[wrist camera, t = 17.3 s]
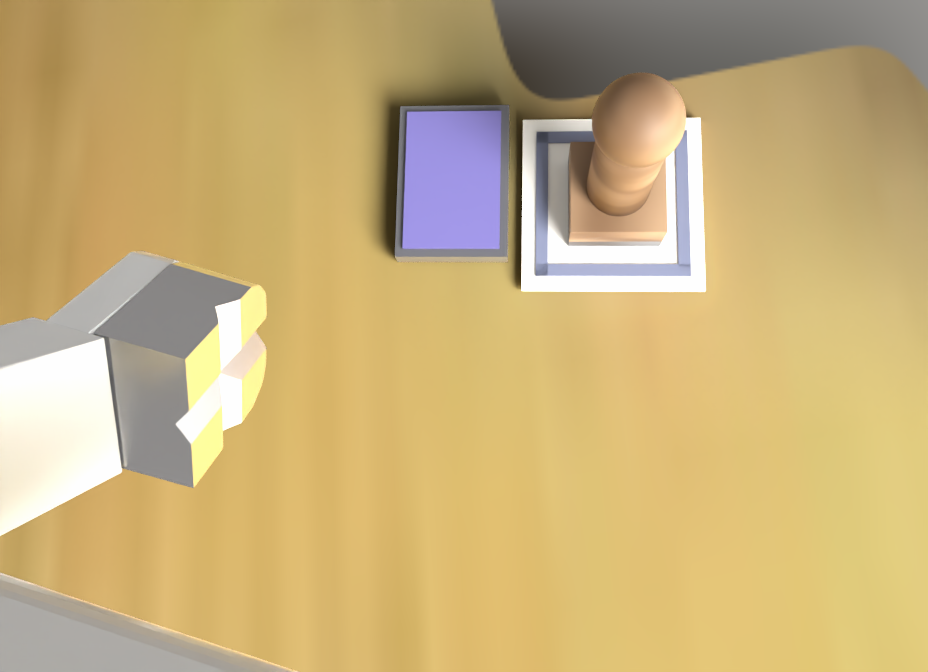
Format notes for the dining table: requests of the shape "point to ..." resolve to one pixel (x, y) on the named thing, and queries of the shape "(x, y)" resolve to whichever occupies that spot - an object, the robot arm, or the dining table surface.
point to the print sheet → (607, 266)
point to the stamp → (625, 164)
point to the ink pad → (453, 184)
